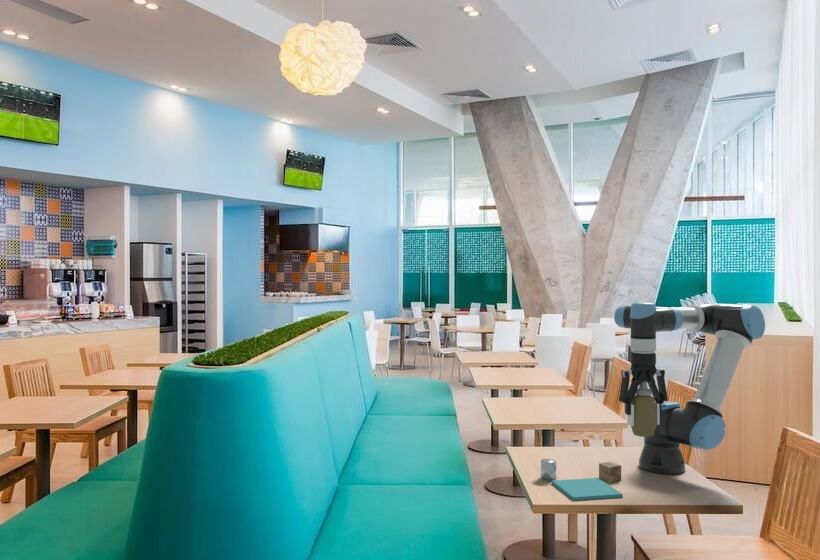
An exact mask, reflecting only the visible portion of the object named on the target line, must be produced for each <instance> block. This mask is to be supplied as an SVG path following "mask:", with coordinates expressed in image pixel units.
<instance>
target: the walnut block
mask: <svg viewBox="0 0 820 560" xmlns="http://www.w3.org/2000/svg"><path fill="white" fill-rule="evenodd" d="M598 478H599V479H600V480H602V481H604V482H607V483H613V482H619V481H622V465H621V464H618V463H617V462H616V463H615V462H612V461H610V460H609V461H606V462H599V463H598Z"/></svg>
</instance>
